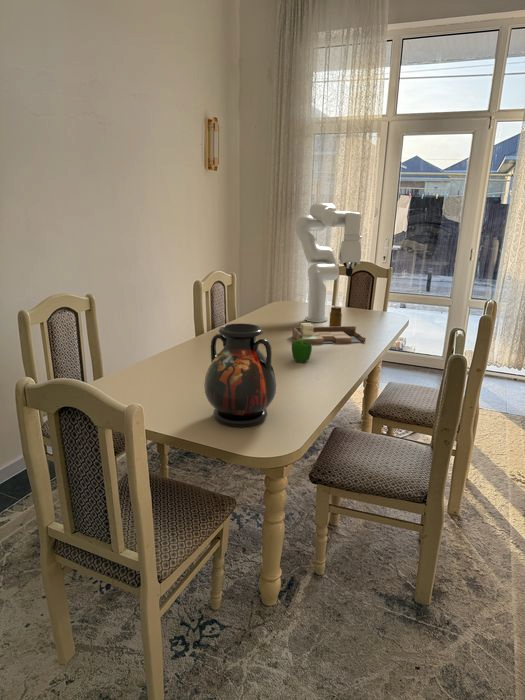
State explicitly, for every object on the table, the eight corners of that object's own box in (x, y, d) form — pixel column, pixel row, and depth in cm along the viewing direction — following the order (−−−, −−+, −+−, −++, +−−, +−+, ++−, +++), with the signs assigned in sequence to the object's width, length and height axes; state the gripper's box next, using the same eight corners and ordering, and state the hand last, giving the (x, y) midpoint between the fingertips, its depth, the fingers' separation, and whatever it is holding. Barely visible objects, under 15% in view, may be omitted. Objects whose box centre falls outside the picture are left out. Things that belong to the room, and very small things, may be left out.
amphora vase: (191, 425, 144) (189, 332, 136) (223, 399, 164) (222, 317, 156) (260, 438, 137) (262, 341, 129) (284, 409, 156) (287, 323, 149)
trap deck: (292, 336, 244) (292, 327, 242) (354, 334, 249) (355, 326, 248) (299, 344, 229) (300, 335, 228) (365, 342, 235) (365, 333, 233)
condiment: (334, 327, 263) (336, 305, 259) (346, 331, 256) (348, 308, 253) (325, 329, 258) (326, 307, 255) (337, 333, 252) (338, 310, 248)
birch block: (300, 333, 240) (300, 323, 238) (310, 332, 241) (310, 322, 239) (303, 335, 235) (303, 325, 234) (313, 335, 236) (313, 325, 235)
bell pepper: (299, 356, 211) (300, 334, 209) (314, 361, 206) (315, 337, 203) (286, 360, 206) (287, 337, 203) (301, 365, 200) (302, 341, 197)
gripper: (363, 238, 245) (360, 274, 250) (334, 237, 243) (332, 275, 248) (368, 239, 238) (365, 277, 243) (338, 238, 236) (336, 277, 241)
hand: (348, 275), depth 246 cm, fingers closed
